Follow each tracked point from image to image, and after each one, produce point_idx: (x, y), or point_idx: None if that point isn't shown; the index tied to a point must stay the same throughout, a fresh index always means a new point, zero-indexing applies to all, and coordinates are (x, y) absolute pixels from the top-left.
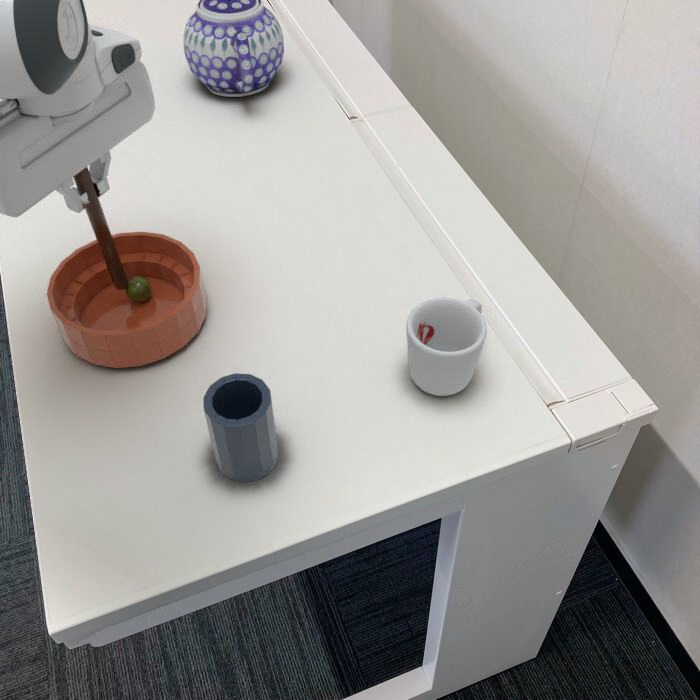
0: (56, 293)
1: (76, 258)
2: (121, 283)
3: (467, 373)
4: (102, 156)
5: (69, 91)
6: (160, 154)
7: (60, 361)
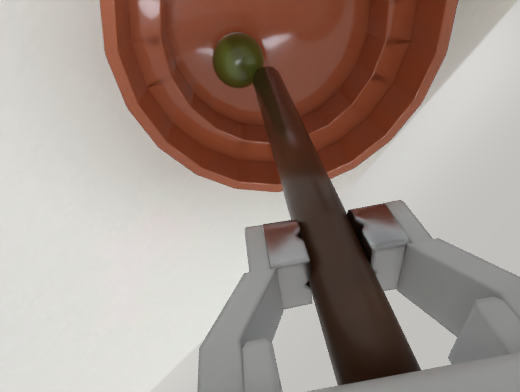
0: (364, 137)
1: None
2: (275, 71)
3: None
4: (256, 377)
5: None
6: (19, 285)
7: None
